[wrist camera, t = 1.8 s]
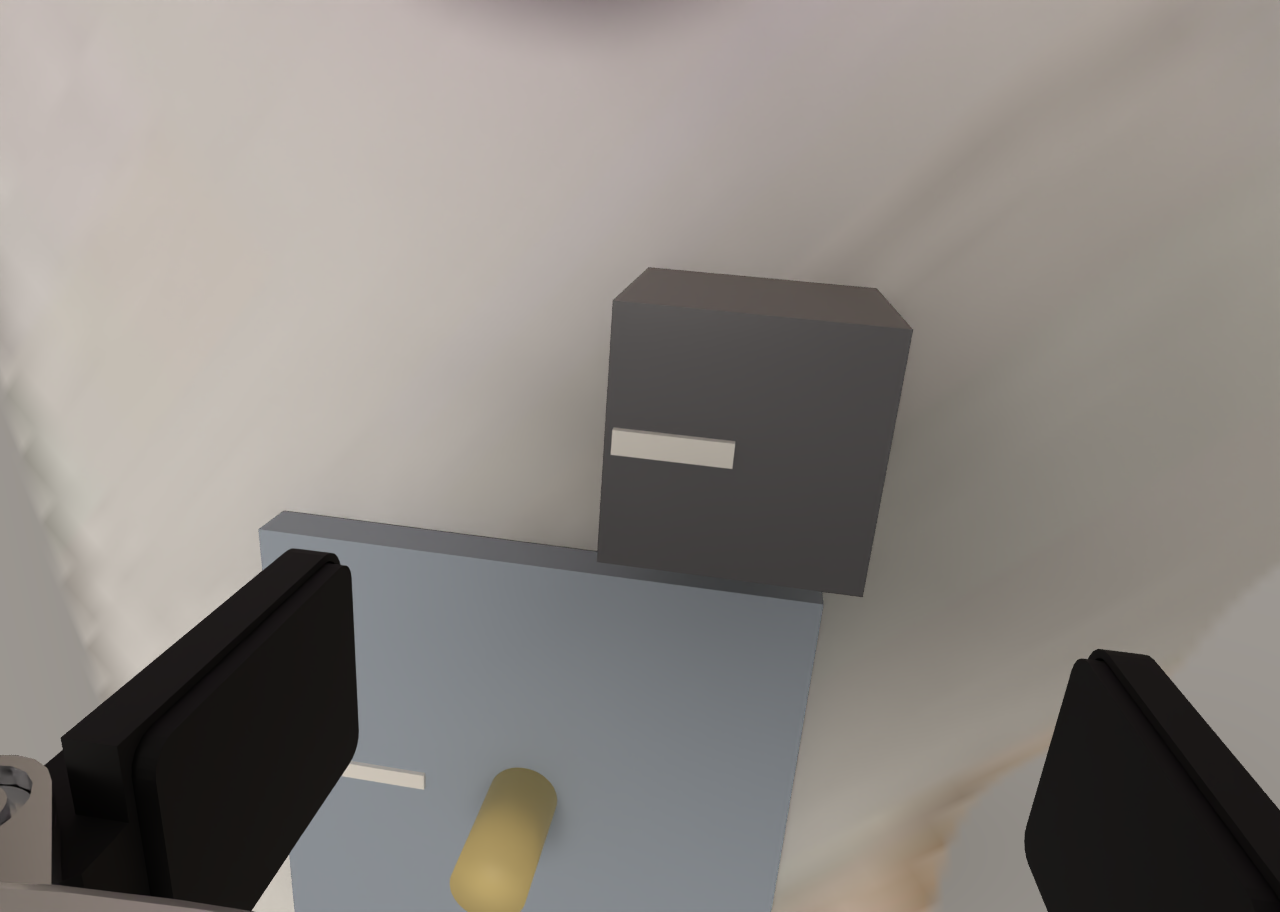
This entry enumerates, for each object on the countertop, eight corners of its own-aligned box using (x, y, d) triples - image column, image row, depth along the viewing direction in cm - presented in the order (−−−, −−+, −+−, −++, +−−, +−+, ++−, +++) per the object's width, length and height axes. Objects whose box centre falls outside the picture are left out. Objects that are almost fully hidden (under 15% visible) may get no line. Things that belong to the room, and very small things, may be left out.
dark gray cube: (876, 288, 23) (914, 331, 17) (840, 500, 25) (863, 601, 19) (648, 267, 24) (611, 301, 18) (632, 475, 26) (595, 565, 20)
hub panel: (820, 581, 26) (834, 683, 21) (752, 988, 32) (750, 1144, 27) (283, 510, 28) (176, 589, 23) (316, 908, 34) (237, 1039, 29)
